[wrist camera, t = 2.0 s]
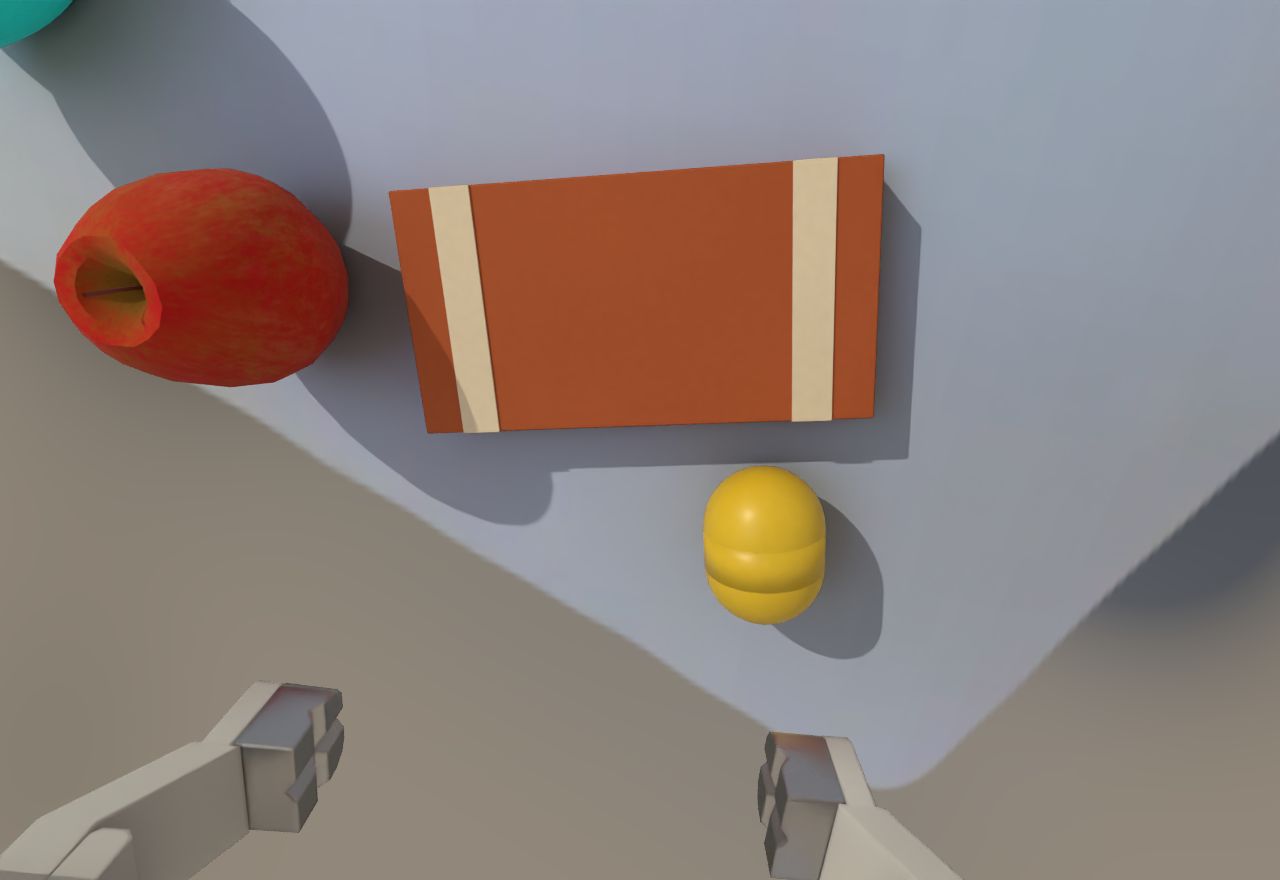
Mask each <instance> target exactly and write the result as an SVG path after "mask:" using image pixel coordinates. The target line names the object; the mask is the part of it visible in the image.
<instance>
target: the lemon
mask: <svg viewBox="0 0 1280 880" xmlns="http://www.w3.org/2000/svg"><path fill="white" fill-rule="evenodd" d="M703 533H704V560H705V570H706V576H707V580H708V583H709V586H710V588H711V590H712V592H713V593H714V595H715V596H716V598H717V599H718V601H719V602H720V603H721V604H722V605H723V606H724V607H725V608H726V609H727V610H728V611H729V612H730V613H732V614H733V615H735V616H737V617H739V618H741V619H743V620H745V621H748V622H751V623H756V624H762V625H769V624H778V623H782V622H785V621H788V620H790V619H793V618H795V617H797V616H798V615H800V614H801V613H802V612H803V611H805V610H806V609H807V608H808V607H809V606H810V605H811V604H812V602H813V601H814V599H815V598H816V597H817V595H818V594H819V591H820V589H821V586H822V583H823V580H824V573H825V551H826V524H825V516H824V512H823V509H822V505H821V503H820V501H819V499H818V498H817V496H816V494H815V493H814V491H813V490H812V489H811V488H810V487H809V485H808V484H807V483H806V482H805V481H803V480H802V479H801V478H799V477H798V476H796V475H795V474H793V473H791V472H789V471H786V470H784V469H781V468H778V467H773V466H754V467H749V468H745V469H743V470H740V471H738V472H735V473H733V474H732V475H731V476H729V477H728V478H726V479H725V480H724V481H722V482H721V484H720V485H719V486H718V487H717V488H716V489H715V491H714V492H713V494H712V495H711V497H710V499H709V501H708V504H707V507H706V510H705V514H704V524H703Z"/></svg>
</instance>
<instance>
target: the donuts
mask: <svg viewBox="0 0 1280 880" xmlns="http://www.w3.org/2000/svg"><path fill="white" fill-rule="evenodd" d="M72 1H73V0H0V47H4V46H6V45H9V44H12V43H15V42H17V41H19V40H21V39H24V38H26V37H28V36H30V35H32V34H34V33H36V32H37V31H39V30H40V29H42V28H43V27H45V26H46V25H48V24H49V23H51V22H52V21H53V20H54V19H56V18H57V17H58V16H59V15H60V14H61V13H62V12H63V11H64V10H65V9H66V8H67V7H68V6H69V5H70V4H71V2H72Z"/></svg>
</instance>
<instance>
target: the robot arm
mask: <svg viewBox="0 0 1280 880" xmlns="http://www.w3.org/2000/svg"><path fill="white" fill-rule="evenodd" d="M342 707H343V704H342V693H341V692H340V691H339V690H338V689H331V688H323V687H315V686H307V685H299V684H290V683H286V684H284V683H278V682H270V681H262V680H260V681H258V682H256V683H253V684H252V685H251V686H250V687H249V688H248V689H247V691H246V692H245V693H244V694H243V695H242V696H241V697H240V698H239V700H238V701H237V702H236V703H235V704H234V705H233V706H232V708H231V709H230V710H229V711H228V712H227V714H226V715H225V716H224V717H223V718H222V719H221V720H220V721H219V723H218V724H217V725H216V726H215V727H214V728H213V730H212V731H211V732H210V733H209V734H208V735H207V736H206V738H205V739H204V740H203V741H202V742H192V743H189V744H187V745H186V746H183V747H181V748H179V749H177V750H175V751H173V752H171V753H169V754H167V755H165V756H163V757H161V758H159V759H157V760H155V761H153V762H151V763H149V764H147V765H145V766H143V767H141V768H139V769H137V770H135V771H133V772H131V773H129V774H127V775H125V776H123V777H121V778H119V779H117V780H115V781H113V782H111V783H109V784H107V785H105V786H103V787H101V788H98V789H96V790H94V791H93V792H90V793H88V794H87V795H84V796H82V797H80V798H78V799H76V800H74V801H73V802H70V803H69V804H66V805H64V806H62V807H60V808H58V809H56V810H55V811H52V812H50V813H48V814H46V815H44V816H42V817H40V818H38V819H37V820H36V821H35V822H34V823H33V824H32V825H31V826H30V827H29V828H28V829H27V830H26V831H25V832H24V833H23V834H22V835H21V836H20V837H19V838H18V839H16V841H14V842H13V843H12V844H11V845H10V846H9V847H8V848H7V849H6V850H5V851H4V852H3V853H2V854H1V855H0V880H188V879H189V878H191V877H192V876H193V875H195V874H196V873H197V872H198V871H200V870H201V869H202V868H204V867H205V866H206V865H208V864H209V863H210V862H211V861H213V860H214V859H215V858H217V857H218V856H219V855H221V854H222V853H223V852H225V851H226V850H227V849H229V848H230V847H231V846H232V845H234V844H235V843H236V842H238V841H239V840H240V839H242V838H243V837H244V836H245V835H247V834H248V833H249V830H263V831H279V832H295V833H299V832H300V830H301V828H302V827H303V825H304V823H305V822H306V820H307V818H308V817H309V815H310V813H311V811H312V810H313V808H314V806H315V805H316V803H317V801H318V798H317V788H319V787H320V786H322V785H323V784H324V783H326V782H328V781H329V780H330V779H331V777H332V775H333V773H334V771H335V770H336V768H337V765H338V762H339V759H340V756H341V753H342V749H343V742H344V726H343V725H342V724H341V723H340V721H339V720H338V719H337V718H336V717H337V716H338V714H339V712H340V710H341V709H342ZM765 753H766V758H767V762H766V763H765V764H764V765H763V766H761V769H760V774H759V780H758V810H759V816H760V822H761V823H762V824H763V825H764V826H765V827H766V829H767V833H766V838H765V843H764V844H765V850H766V855H767V860H768V866H769V871H770V877H771V878H778V879H787V880H964V879H963V878H961V877H960V876H959V875H958V874H957V873H956V872H955V871H954V870H953V869H951V868H950V867H949V866H948V865H947V864H946V863H945V862H944V861H943V860H941V859H940V858H939V857H938V856H937V855H936V854H935V853H934V852H932V851H931V850H930V849H929V848H928V847H927V846H926V845H925V844H924V843H923V842H922V841H920V840H919V839H918V838H917V837H916V836H915V835H914V834H913V833H912V832H910V831H909V830H908V829H907V828H906V827H905V826H904V825H903V824H901V823H900V822H899V821H898V820H897V819H896V818H895V817H894V816H893V815H892V814H890V813H889V812H888V811H887V810H886V809H885V808H877V806H876V804H875V801H874V799H873V796H872V793H871V791H870V788H869V786H868V783H867V781H866V778H865V775H864V773H863V770H862V768H861V765H860V763H859V760H858V757H857V755H856V752H855V750H854V747H853V744H852V742H851V741H850V740H849V739H848V738H846V737H833V736H814V735H803V734H792V733H781V732H769V734H768V736H767V739H766V743H765Z"/></svg>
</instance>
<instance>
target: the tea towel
mask: <svg viewBox="0 0 1280 880" xmlns="http://www.w3.org/2000/svg"><path fill="white" fill-rule="evenodd" d="M884 157H885V156H884V155H883V154H878V155H865V156H852V157H833V158H820V159H806V160H793V161H785V162H772V163H758V164H745V165H732V166H718V167H705V168H692V169H678V170H665V171H652V172H638V173H625V174H612V175H598V176H585V177H572V178H558V179H545V180H532V181H518V182H505V183H492V184H478V185H460V186H447V187H433V188H425V189H412V190H398V191H390V192H389V198H390V204H391V210H392V216H393V222H394V229H395V235H396V241H397V247H398V253H399V260H400V266H401V272H402V278H403V284H404V291H405V297H406V303H407V309H408V315H409V322H410V328H411V334H412V340H413V346H414V353H415V359H416V365H417V371H418V377H419V384H420V390H421V396H422V402H423V408H424V415H425V421H426V427H427V433H455V432H464V433H483V432H500V431H512V430H541V429H570V428H598V427H627V426H656V425H684V424H713V423H742V422H770V421H792V422H800V421H829V420H832V419H856V418H873V417H874V397H875V373H876V349H877V325H878V301H879V277H880V253H881V229H882V205H883V181H884Z"/></svg>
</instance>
